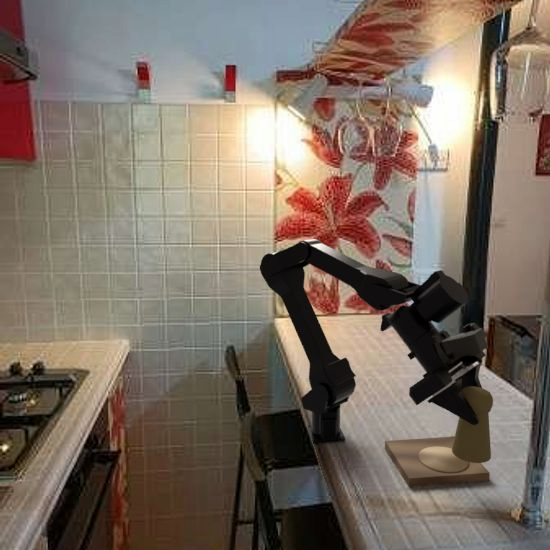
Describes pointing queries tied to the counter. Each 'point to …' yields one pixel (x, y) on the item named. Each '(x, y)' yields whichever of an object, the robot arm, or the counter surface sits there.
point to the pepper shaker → (474, 428)
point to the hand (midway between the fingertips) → (482, 417)
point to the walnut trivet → (432, 462)
